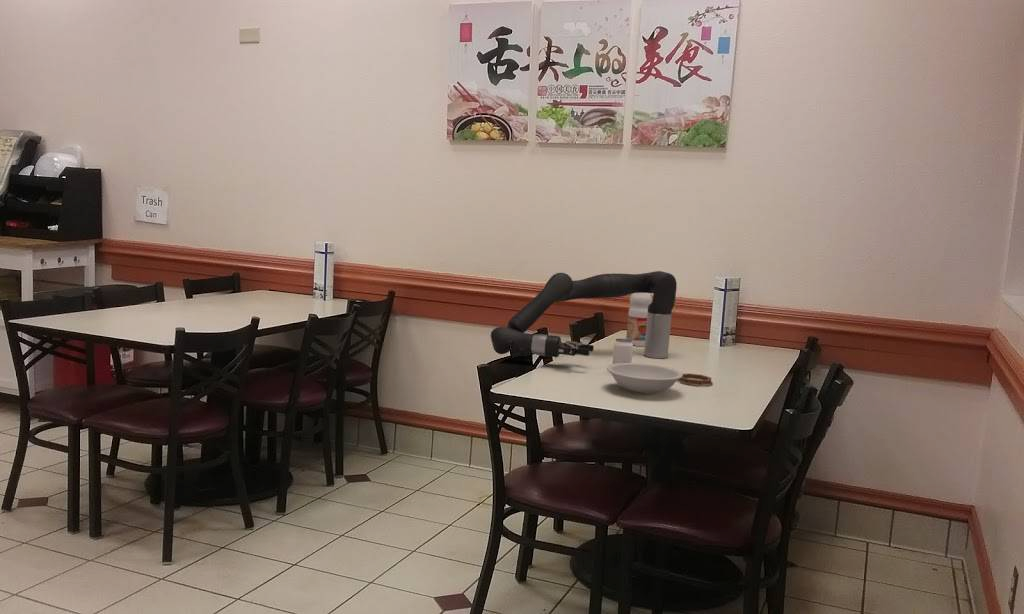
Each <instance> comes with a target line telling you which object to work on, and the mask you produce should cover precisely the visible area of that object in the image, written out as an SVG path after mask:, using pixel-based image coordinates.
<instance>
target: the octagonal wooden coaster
mask: <svg viewBox="0 0 1024 614" xmlns="http://www.w3.org/2000/svg"><path fill="white" fill-rule="evenodd" d="M682 374H683V377H682V378H680V379H677V381H676V382H677V383H678V382H680V383H679V384H681V383H682V384H681V385H685V384H686V385H685V386H690V385H692V386H691V387H699V386H706V387H711V386H713V383H714V382H713V381H712V377H710V376H707V375H703V374H697V373H682ZM710 385H711V386H710Z"/></svg>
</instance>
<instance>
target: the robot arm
mask: <svg viewBox="0 0 1024 614" xmlns="http://www.w3.org/2000/svg"><path fill="white" fill-rule="evenodd" d="M677 284H678V283H677V278H676V277H675V276H674V275H673V274H672V273H669V272H665V271H661V270H659V271H658V270H657V271H656V270H655V271H650V272H644V273H633V274H632V273H602V274H597V275H596V274H595V275H593V276H590V277H589V276H588V277H587V278H584V279H579V280H573V279H572V277H571V276H570V275H569V274H567V273H565V272H557V273H555V274H553V275H551V277H550V278H549V279H548V281H546V284H545V285H544V288H542V289H541V290H540V292H538V294H537V295H535V297H534V298H532V300H530V301H529V302H528V303H527V304H526V305H524V306H523V307H522V308H521V309H520V310H519V311H517V313H515V314H514V315H513V316H512V317H511V318H510V319H509V320H508V322H507V327H506V326H498V327H495V328H494V329H492V330H491V332H490V340H491V343H492V348H493V350H494V351H495V353H497V354H499V355H505V354H507V353H509V352H510V348H509V341H511V342H513V344H514V345H515V346H516V347H518V348H521V349H529V350H531V351H532V355H536V356H542V357H551V358H558V357H559V356H560V355H564V356H572V357H575V356H578V355H579V356H589V355H590V352H591V353H592V352H594V348H595V346H594V344H586V343H585V344H584V343H583V342H581V341H580V342H579V341H572V340H571V341H570V340H566V341H565V342H562V338H561V336H559V335H552V334H551V335H550V334H542V333H540V334H539V333H538V334H537V333H536V334H534V333H525V332H527V330H529V329H530V328H531V327H532V326H533V324H535V323H536V322H537V321H538V319H539V318H540V317H541V316H542V315H543V314H544V313H545V312H546V311H547V310H548V309H549V308H550V306H552V305H553V304H554V303H556V302H557V303H559V302H560V303H561V302H566V301H571V300H580V299H581V300H582V299H611V298H613V299H614V298H621V297H626V296H628V295H629V296H630V295H632V294H633V293H649V294H652V295H653V296H652V303H651V304H649V306H648V314H647V326H646V337H645V346H644V349H643V356H644V355H645V357H649V358H652V359H653V358H654V359H667V358H668V356H669V347H670V346H669V345H670V338H671V337H670V335H671V324H672V313H673V312H672V311H673V309H674V307H675V303H676V297H677V296H676V295H677V287H678V286H677ZM516 347H515V348H516Z"/></svg>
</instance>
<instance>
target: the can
mask: <svg viewBox="0 0 1024 614" xmlns="http://www.w3.org/2000/svg"><path fill="white" fill-rule="evenodd" d="M633 348H634V346H633V344H632V340H629V339H626V338H615V341H614V343H613V355H612V364H618V363H633V362H632V360H633V350H634V349H633Z"/></svg>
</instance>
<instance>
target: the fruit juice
mask: <svg viewBox="0 0 1024 614" xmlns="http://www.w3.org/2000/svg"><path fill="white" fill-rule="evenodd" d="M629 296H630V297H629V304H630V306H629V309H628V312H627V313H628V314H627V324H626V326H627V327H626V338H625V339H629V340H632V344H633V345H635V346H634V347H645V337H646V326H647V314H648V306H649V304H651V303H652V301H653V296H652V295H651V293H633V294H630V295H629Z"/></svg>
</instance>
